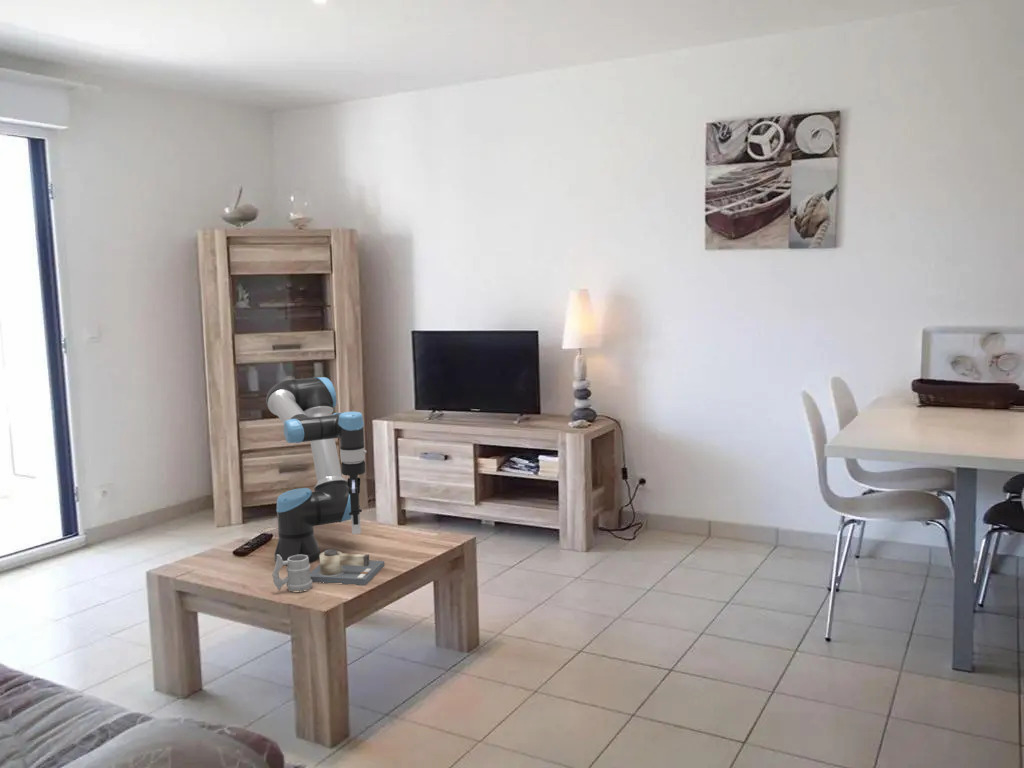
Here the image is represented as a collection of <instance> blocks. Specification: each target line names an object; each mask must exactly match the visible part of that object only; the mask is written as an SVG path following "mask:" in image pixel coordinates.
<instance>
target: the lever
mask: <svg viewBox="0 0 1024 768" xmlns="http://www.w3.org/2000/svg"><path fill="white" fill-rule="evenodd" d="M369 560H370V554H367V553H366V554H361V553H360V554H359V553H343V552H342V551H339V550H338V549H336V548H329V549H325V550H324V551H323V552H320V557H319V565H320V572H321V574H323V575H336V574H339V573H341V572H342V571H343V565H355V566H368V565H369Z"/></svg>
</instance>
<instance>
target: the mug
mask: <svg viewBox="0 0 1024 768" xmlns="http://www.w3.org/2000/svg"><path fill="white" fill-rule="evenodd" d="M283 566H287V567H286V572H287V576H286V577H284V578H281V577H280V570H281V569H282V567H283ZM310 572H311V564H310V563H309V557H308V556H307V555H294V556H291V557H289V558H288V559H287V561H283V560H282V557H281V556H280V555H278V554H277V561H276V562H275V565H274V568H273V572H272V579H273V580H272V581H273V584H274V587H276V589H277V590H280V589H281V588H283V586H284V585H286V587H287V590H290V591H299V592H300V591H304V590H308V589H310V588H311V589H312V584H313V583H312V579H311V577H310ZM311 589H310V590H311ZM290 591H289V592H290ZM308 591H309V590H308ZM300 593H301V592H300Z"/></svg>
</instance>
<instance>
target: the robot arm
mask: <svg viewBox="0 0 1024 768" xmlns="http://www.w3.org/2000/svg"><path fill="white" fill-rule="evenodd" d="M337 401H338V400H337V393H336V388H335V386H334V384H333V382H332V381H331V380H330V379H329V378H328V377H327V376H326V377H323V376H322V377H320V376H319V377H317V376H314V377H307V378H305V377H304V378H294V379H293V378H292V379H290V378H289V379H286V380H282V381H280V382H278V383H275V384H274V385H273V386H272V387H271V388H270V389H269V391H268V392H267V395H266V400H265V402H266V406H267V408H268V410H269V411H270V413H271V414H273V415H275V416H277V417H278V419H280V421H281V422H282V424H283V435H284V438H285V441H286V442H287V443H288V444H294V443H295V444H299V443H300V444H301V443H305V442H306V443H307V442H309V443H310V449H311V454H312V460H313V464H314V465H313V466H314V470H315V477H316V481H317V483H316V484H315V486H314V487H313V490H314V491H312V490H311V489H310V488H308V487H302V488H295V489H291V490H287V491H285V492H283V493H281V494H279V495H278V496H277V499H276V508H275V509H276V516H277V531H278V541H277V545H276V548H275V552H274V561H277V554H278V555H280V556H281V557H282V560H283V561H287V559H288V558H289V557H291V556H294V555H307V556H308V557H309V564H310V563H312V562H315V561H317V560H319V559H320V554H321V549H320V546H319V543H318V541H317V539H316V536H315V534H314V527H315V526H316V527H317V526H322V525H329V524H335V523H337V524H338V523H342V522H346V521H351V534H352V535H360V534H361V533H362V527H361V513H362V511H363V510H362V509H360V508H361V506H360V494H361V493H360V492H361V477H358V476H359V475H360V476H361V475H363V474H365V473H366V461H365V458H366V457H365V456H366V455H365V454H366V453H367V452H368V451H367V450H366V449H365V432H364V429H365V427H364V426H365V422H364V416H363V414H362V412H359V411H345V412H335V413H333V412H334V408H335V407H336V406H337ZM336 439H339V452H340V453H339V454H338V449H337V445H336V444H337V443H336ZM339 456H340V459H339ZM340 461H341V462H340ZM343 476H349V477H348V478H347V480H346V479H345V478H343Z"/></svg>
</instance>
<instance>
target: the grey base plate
mask: <svg viewBox="0 0 1024 768" xmlns="http://www.w3.org/2000/svg"><path fill="white" fill-rule="evenodd" d="M384 566H385V560H376V559H375V560H374V559H373V560H371V559H369V565H368V566H355V565H343V571H342V572H341V573H339V574H336V575H323V574H321V572H320V564H318V566H316V567H315V568H313V569H312V570H310V577H311V579H312V582H318V583H317V584H328V583H342V584H341V585H348V584H356V585H355V586H367V585H368V584H369V582H370V581H372V580H373V577H374V576H375V575H376V574H377V573H378V572H379V571H380V570H381V569H382V568H383V567H384ZM384 568H385V567H384ZM384 568H383V569H384ZM383 569H382V570H383ZM382 570H381V571H382ZM381 571H380V572H381ZM380 572H379V573H380ZM379 573H378V574H379ZM378 574H377V575H378ZM377 575H376V576H377ZM374 578H375V577H374ZM319 582H321V583H319ZM323 582H324V583H323Z"/></svg>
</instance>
